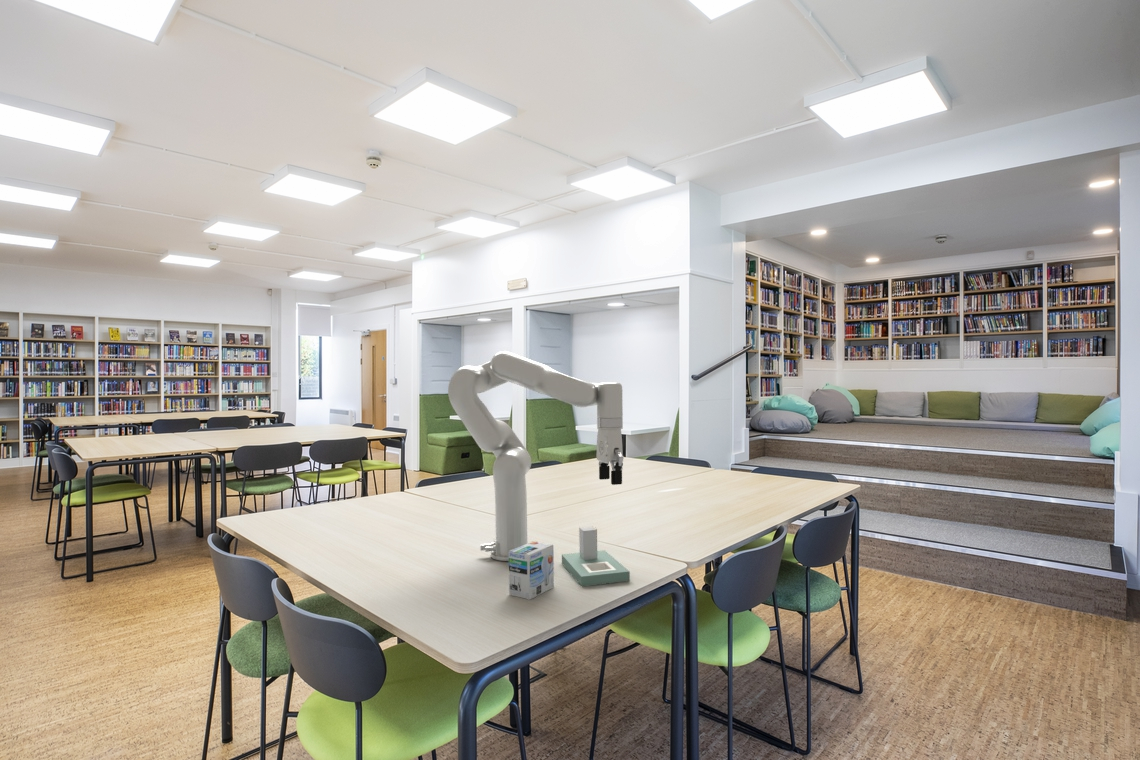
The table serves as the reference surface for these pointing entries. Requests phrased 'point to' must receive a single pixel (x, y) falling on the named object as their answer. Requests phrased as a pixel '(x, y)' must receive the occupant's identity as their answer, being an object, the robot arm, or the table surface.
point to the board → (595, 569)
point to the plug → (588, 542)
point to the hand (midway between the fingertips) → (610, 481)
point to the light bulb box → (531, 570)
